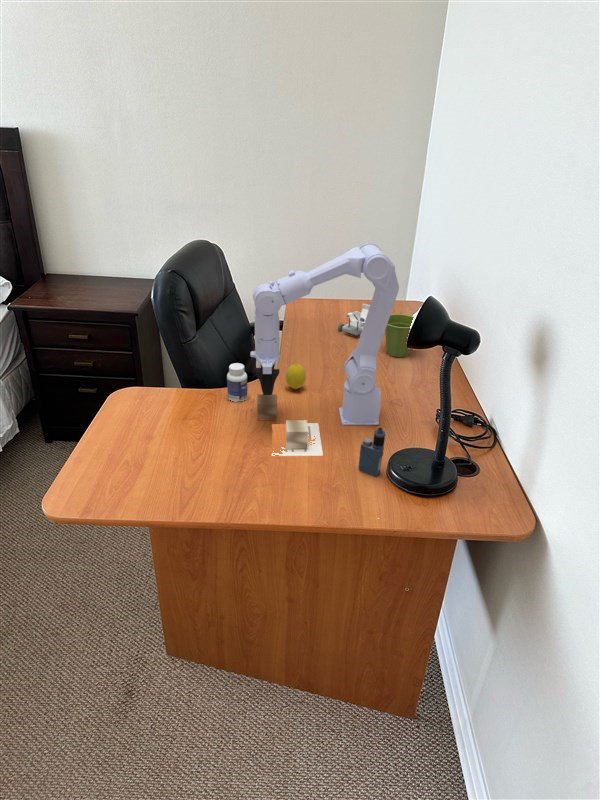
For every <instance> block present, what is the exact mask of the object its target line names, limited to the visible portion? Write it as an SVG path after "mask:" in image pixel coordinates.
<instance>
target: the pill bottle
mask: <svg viewBox="0 0 600 800" xmlns="http://www.w3.org/2000/svg"><path fill="white" fill-rule="evenodd" d="M226 386H227V399H228V401H230V400H231V401H230V402H232V401H234V402H233V403H238V402H237V401H243V400H245V399H246V400H247V399H248V374H247V373H246V371H245V365H244V364H243V363H239V362H235V363H231V364H230V365H229V366H228V372H227V374H226ZM246 400H245V401H246ZM243 402H244V401H243Z"/></svg>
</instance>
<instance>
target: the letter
mask: <svg viewBox="0 0 600 800" xmlns="http://www.w3.org/2000/svg"><path fill="white" fill-rule="evenodd" d="M307 426H308V433H309V434H308V436H310V435H311V437H310V438H311V440H313V439H315V438H316V439H315V441H310V442H312V443H310V442H308V443H310V444H312V445H310V444H308V445H309V446H307V448H308V449H293V450H287V451H284V450H283V451H281V450H280V451H281V452H282V453H283V454H279V453H272V454H271V457H276V456H275V455H279V456H278V457H312V456H313V457H315V456H316V457H317V456H318V457H320V456H321V457H322V456H324V453H323V452H324V451H323V446H322V440H321V434H320V425H319V423H318V422H307ZM314 436H315V437H314ZM310 438H308V439H310ZM313 443H315V444H313ZM285 446H286V445H285ZM281 448H282V449H285V450H286V448H284V447H281ZM273 452H274V451H273ZM273 454H275V455H273Z"/></svg>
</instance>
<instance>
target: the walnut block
mask: <svg viewBox="0 0 600 800" xmlns="http://www.w3.org/2000/svg"><path fill="white" fill-rule="evenodd" d="M256 400H257V403H256V412H257V414H256V416H257V417H256V420H257V421H260V420H259V419H277V420H278V395H277V394H273V393H272V395H263V393H262V394H261V393H259V394H257V397H256Z"/></svg>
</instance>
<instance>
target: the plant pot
mask: <svg viewBox="0 0 600 800" xmlns="http://www.w3.org/2000/svg"><path fill="white" fill-rule="evenodd" d="M414 317H415V316H412V315H408V314H403V313H391V315H390V318H389V321H388V324H387V326H386V329H385V332H384V334H385V349H386V354H387V355H389V356H391V357H398V358H405V357H408V356H409V355H410V351H411V349H408V348H407V347H406V342H407V337H408V334H409V330H410V326H411V323H412V320H413V318H414Z"/></svg>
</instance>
